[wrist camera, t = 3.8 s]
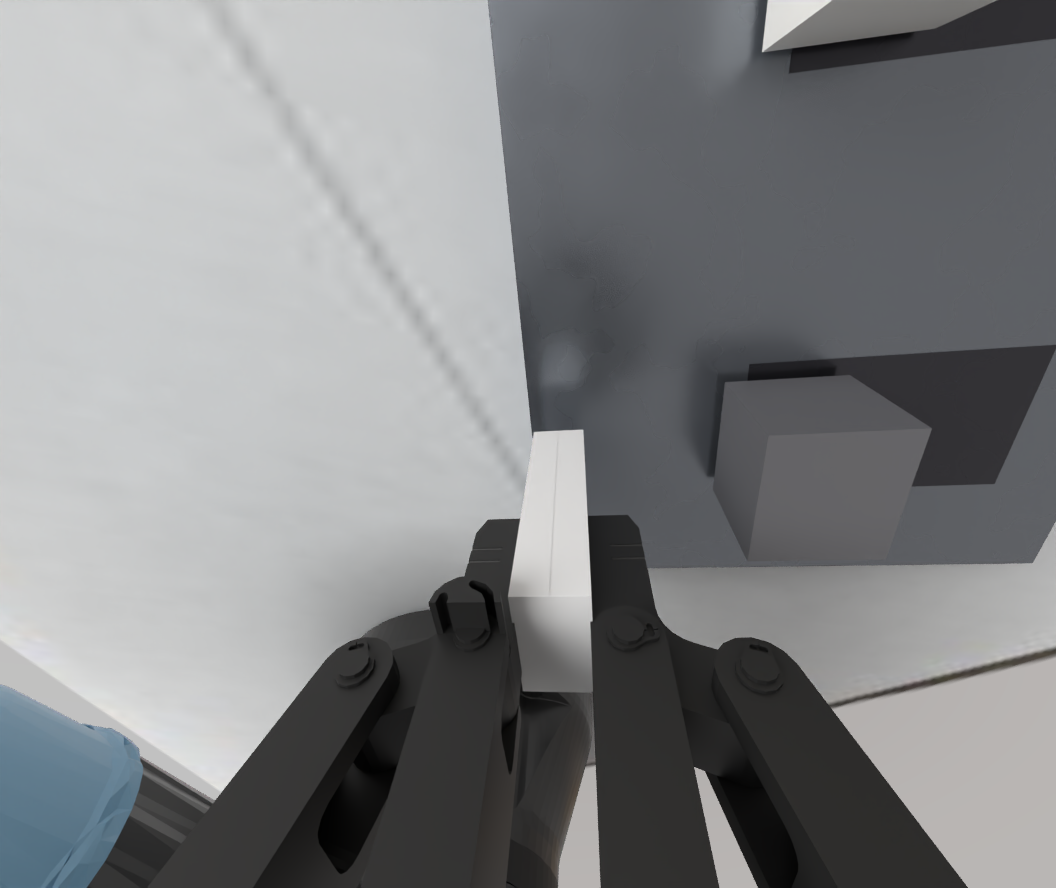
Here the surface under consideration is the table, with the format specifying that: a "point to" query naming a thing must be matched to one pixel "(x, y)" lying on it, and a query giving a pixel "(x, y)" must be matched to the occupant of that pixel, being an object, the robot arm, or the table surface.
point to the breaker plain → (854, 19)
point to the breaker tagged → (814, 468)
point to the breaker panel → (786, 252)
